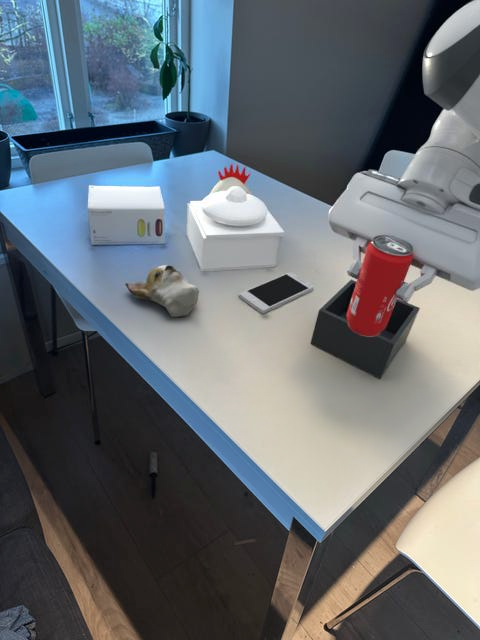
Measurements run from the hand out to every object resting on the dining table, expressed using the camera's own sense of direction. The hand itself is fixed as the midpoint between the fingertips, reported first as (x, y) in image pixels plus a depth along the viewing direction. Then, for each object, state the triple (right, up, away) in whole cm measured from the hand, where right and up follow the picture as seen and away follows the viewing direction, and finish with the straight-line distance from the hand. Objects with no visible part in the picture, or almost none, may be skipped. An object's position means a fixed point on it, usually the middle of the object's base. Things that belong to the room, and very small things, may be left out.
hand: (376, 287), depth 54 cm
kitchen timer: (-19, +22, +66) cm, 72 cm away
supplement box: (-44, +17, +55) cm, 72 cm away
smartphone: (-9, +2, +40) cm, 41 cm away
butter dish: (-19, +12, +53) cm, 57 cm away
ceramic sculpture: (-31, -1, +33) cm, 45 cm away
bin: (+6, -8, +29) cm, 31 cm away
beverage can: (0, -5, +4) cm, 7 cm away
